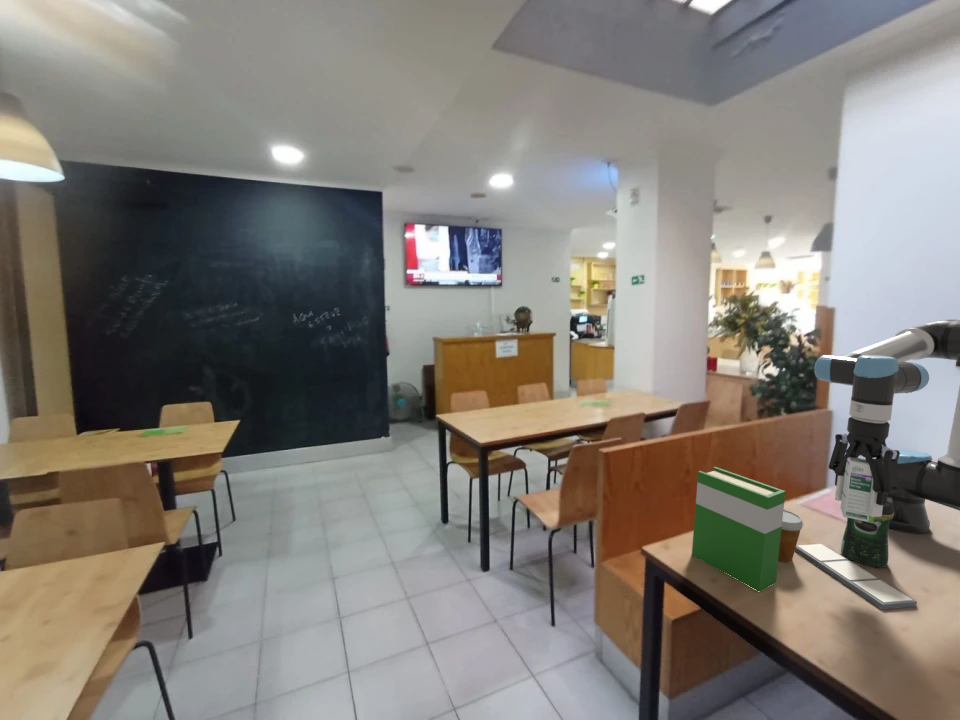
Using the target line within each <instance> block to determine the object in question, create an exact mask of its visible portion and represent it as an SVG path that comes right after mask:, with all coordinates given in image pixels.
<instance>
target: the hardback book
mask: <svg viewBox="0 0 960 720" xmlns="http://www.w3.org/2000/svg"><path fill="white" fill-rule="evenodd" d="M697 472H698V473H697V482H696V483H697V484H696V497H695V509H694V522H693V537H692V546H691V547H692V548H691V555H692V556H693V557H695V558H697V559H698V560H700V561H702V562H703V563H705V564H707V565H709V566H710V567H712V566H713V568H714V567H715V568H714V569H716V568H717V569H716V570H718V569H719V570H718V571H720V570H721V571H723V572H725V573H727V574H729V575H731V576H732V577H734V578H736V579H738V580H739V581H741V582H743V583H745V584H747V585H749V586H750V587H752V588H754V589H756V590H757V591H761V590H763V589H764V590H766V589H768V588H769V587H768V586H770V585H771V586H773V585H775V584H776V583H777V575H778V574H777V572H778V565H779V564H778V563H779V561H778V556H779V547H780V538H781V528H782V519H783V510H784V509H785V508H784V507H785V499H786V490H784V489H780V488H777V487H774V486H771V485H769V484H765V483H763V482H760V481H757V480H754V479H751V478H748V477H746V476H742V475H741V474H738V473H734V472H731V471H729V470H726V469H723V468H720V467H717V466H713V467H712V471H708V472H704V471H701V470H698V471H697ZM721 571H720V572H721ZM723 572H722V573H723ZM725 573H724V574H725ZM727 574H726V575H727ZM729 575H728V576H729ZM732 577H731V578H732ZM734 578H733V579H734ZM736 579H735V580H736ZM739 581H738V582H739ZM741 582H740V583H741ZM743 583H742V584H743ZM774 583H775V584H774ZM745 584H744V585H745ZM772 584H773V585H772ZM771 586H770V587H771ZM750 587H749V588H750ZM767 587H768V588H767ZM752 588H751V589H752ZM765 588H766V589H765ZM764 590H763V591H764ZM757 591H756V592H757ZM761 592H762V591H761Z"/></svg>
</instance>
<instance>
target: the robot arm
mask: <svg viewBox="0 0 960 720" xmlns="http://www.w3.org/2000/svg"><path fill="white" fill-rule="evenodd" d="M926 358H930V359H943V360H950V361H952V360H953V361H955V368H956V369H957V370H958V371H959V372H960V319H942V320H936V321H935V320H934V321H931V322H930V321H928V322H925V323H921V324H919V325H914V326H910V327H907V328H904V329H902V330H901V331H898V332H897V333H896V334H895V336H893V337H890V338H888V339H885V340H882V341H880V342H876V343H874V344H871V345H868V346H865V347H862V348H859V349H857V350H854V351H851V352H849V353H845V354H842V355H835V354H832V355H831V354H828V355H827V354H823V355H821V356H820V357H818V359H817V360H816V361H815V364H814V376H815V377H816V378H817V379H818V380H819V381H821V382H822V381H823V382H829V383H831V384H838V385H839V384H841V385H845V386H852V391H851V397H850V405H849V412H848V414H849V416H850V417H848V418H847V419H848V420H847V427H846V431H847V432H848V434H846V433H842V434H841V433H840V434H838V433H836V434H835V439H834V440H835V443H834V447H833V450H832V454H831V456H830V460H829V463H828V469H829V470H832V471H833V472H834V474H835V478H834V479H835V480H834V486H836V488H835V494H834V495H835V499H834V500H836V501H840V502H841V499H842V490H843V482H844V473H845V467H846V463H847V458H848V457H854V458H859V457H861V456H862V457H863V458H864V459H866V461H867V462H868V463H869V466H870V470H871V473H872V477H873V480H874V484H875V488H876V489H874V490H872V493H871V501H870V508H869V516H871V517H880V516H882V510H883V505H886V503H887V497H889V498H891V499H892V500H893V507H894V516H893V518H892V519H891V520H890V522H889V528H890V529H892V530H896V531H900V532H906V533H913V534H925V533H928V532H930V526H931V522H930V520H929V517H928V511H927V509H926V508H927V507H926V504H925V503H926V500H927V501H930V502H933V503H936V504H938V505H942V506H945V507H947V508H948V507H949V508H951V509H954V510H957V511H959V512H960V386H959V387H958V394H957V397H956V403H955V407H954V409H955V410H954V414H953V419H952V425H951V428H950V436H949V440H948V445H947V451H946V454H945V455H942V456H939V457H938V458H937V462H936V461H933V457H932V455H931V454H929V453H926V452H923V451H918V450H917V451H916V450H908V449H893V448H889V447H887V443H886V440H887V438H888V437H889V433H890V426H891V423H889V422H890V421H891V420H892V411H893V405H894V404H893V403H894V397H895V394H909V393H910V394H912V393H914V392H917V391H920V390H922V389H924V388H926V386H927V385H928V384H929V381H930V373H929V371H928V370H927V369H926V368H925V367H924V366H923V365H921V364H919V363H916V362H910V361H911V360H912V361H918V360H922V359H926Z"/></svg>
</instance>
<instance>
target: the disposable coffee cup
mask: <svg viewBox="0 0 960 720" xmlns="http://www.w3.org/2000/svg"><path fill="white" fill-rule="evenodd" d="M804 526H805V525H804V523H803V518H802V517H801V516H800V515H798V514H797V513H795V512H793V511H791V510H787V509H785V508H784V510H783V519H782V528H781V538H780V547H779V556H778V563H779V562H780V563H791V562H792V561H793V559H794V555H795V552H796V551H795V548H796V545H797V543H798V540H799V537H800V533H801V531H802V529H803V527H804Z"/></svg>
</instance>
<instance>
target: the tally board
mask: <svg viewBox="0 0 960 720" xmlns="http://www.w3.org/2000/svg"><path fill="white" fill-rule="evenodd" d="M794 552H796V553H797V554H799V555H801V556H802V557H804V558H805V559H806V560H808V561H809V560H810V562H811V563H812V562H813V564H814V563H815V564H816V566H817V567H818V566H819V568H820V567H821V568H822V571H824V570H825V571H824V572H826V573H827V574H829V575H830V576H832V577H833V578H835V579H836V580H837V581H839V582H841V583H842V584H844V585H845V586H847V587H848V588H850V589H851V590H852V591H854V592H855V593H857V594H859V595H860V596H861V597H863V598H865V599H866V600H867V601H868V602H871V603H872V604H873V605H875V606H876V607H877V608H879V609H881V610H889V609H890V610H891V609H899V608H912V607H917V604H918V600H915V599H914V598H912V597H911V596H909V595H907V594H906V593H904V592H902V591H901V590H899V589H897V588H896V587H894V586H893V585H891V584H889V583H888V582H886V581H884V580H882V579H881V578H879V577H877V576H876V575H874V574H873V573H871V572H870V571H868V570H866V569H865V568H863V567H861V566H859V565H858V564H856V563H855V562H853V561H851V559H849V558H847V557H845V556H844V555H843V554H840V553H838V552H836V550H834V549H831V548H830V547H828V546H827V545H825V544H823V543H812V544H799V545H797V544H796V548H795V551H794ZM815 564H814V565H815ZM821 568H820V569H821Z"/></svg>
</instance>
